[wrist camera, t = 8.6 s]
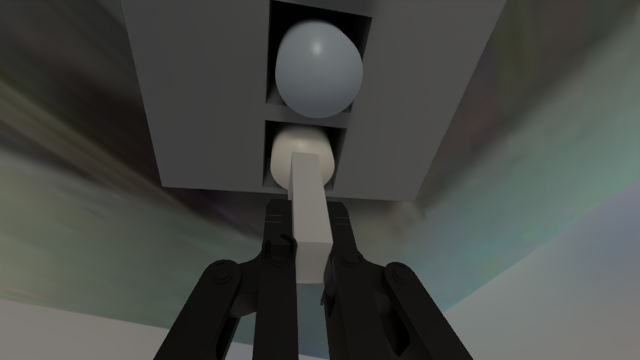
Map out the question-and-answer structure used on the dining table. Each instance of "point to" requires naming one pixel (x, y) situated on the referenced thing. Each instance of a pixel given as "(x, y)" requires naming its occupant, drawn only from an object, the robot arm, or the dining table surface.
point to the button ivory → (299, 149)
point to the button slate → (317, 68)
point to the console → (267, 104)
